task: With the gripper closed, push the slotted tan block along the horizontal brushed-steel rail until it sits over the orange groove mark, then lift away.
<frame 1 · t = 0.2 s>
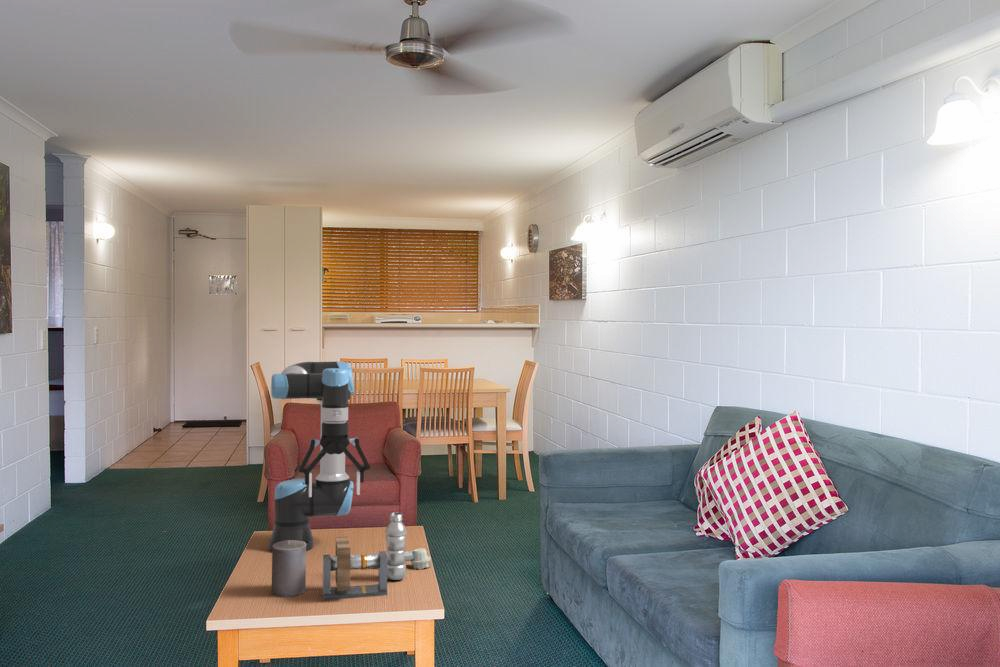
hand: (334, 495, 226), 28 cm above the table, fingers open, 13 cm apart
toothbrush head: (390, 568, 250), on the table
pillar candle: (288, 592, 227), on the table
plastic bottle: (395, 579, 239), on the table
rail stand: (354, 593, 226), on the table
slotted tan block: (342, 563, 225), point 9 cm above the table, slide at 0.0 cm
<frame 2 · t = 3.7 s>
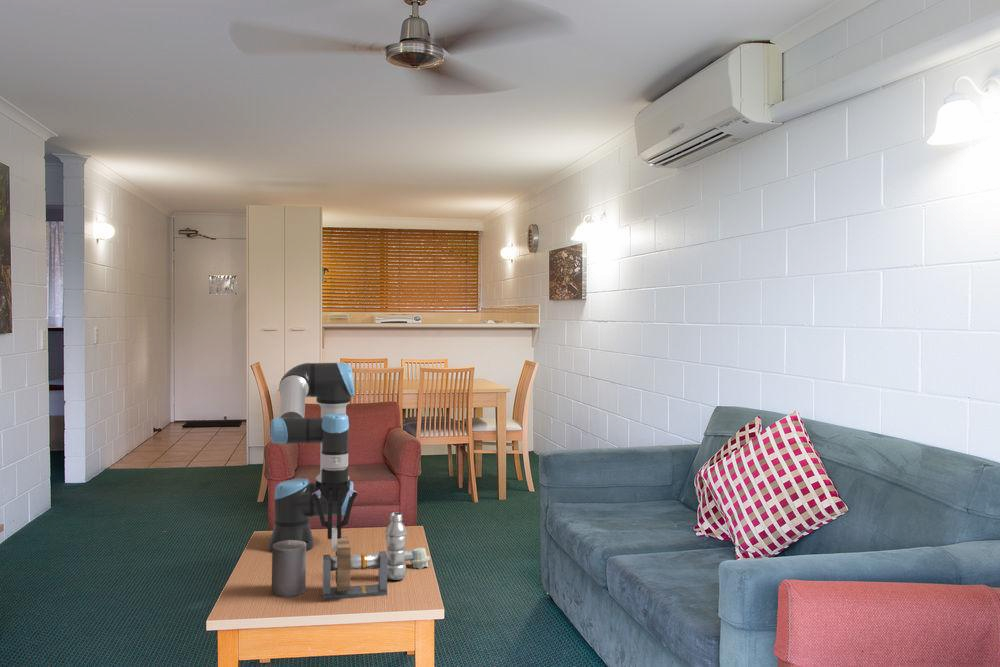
hand: (334, 549, 224), 13 cm above the table, fingers closed
slotted tan block: (342, 563, 225), point 9 cm above the table, slide at 0.0 cm, touching gripper
everything else where it was.
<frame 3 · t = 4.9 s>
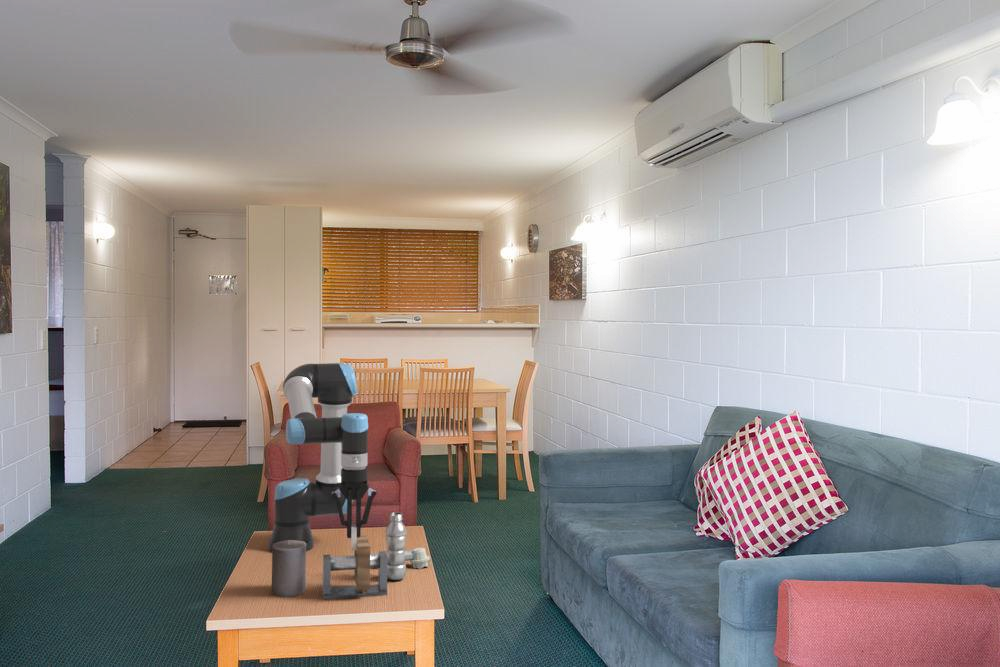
hand: (353, 548, 225), 13 cm above the table, fingers closed
slotted tan block: (362, 561, 226), point 9 cm above the table, slide at 5.5 cm, touching gripper
everything else where it was.
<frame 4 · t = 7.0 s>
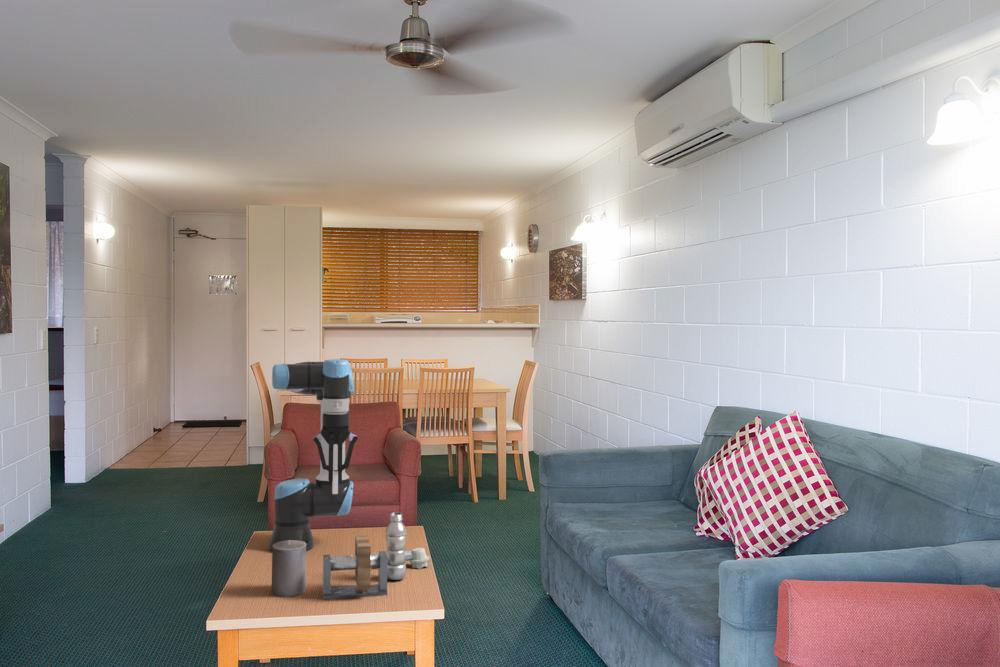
hand: (335, 492, 228), 29 cm above the table, fingers closed
slotted tan block: (362, 561, 226), point 9 cm above the table, slide at 5.7 cm
everything else where it was.
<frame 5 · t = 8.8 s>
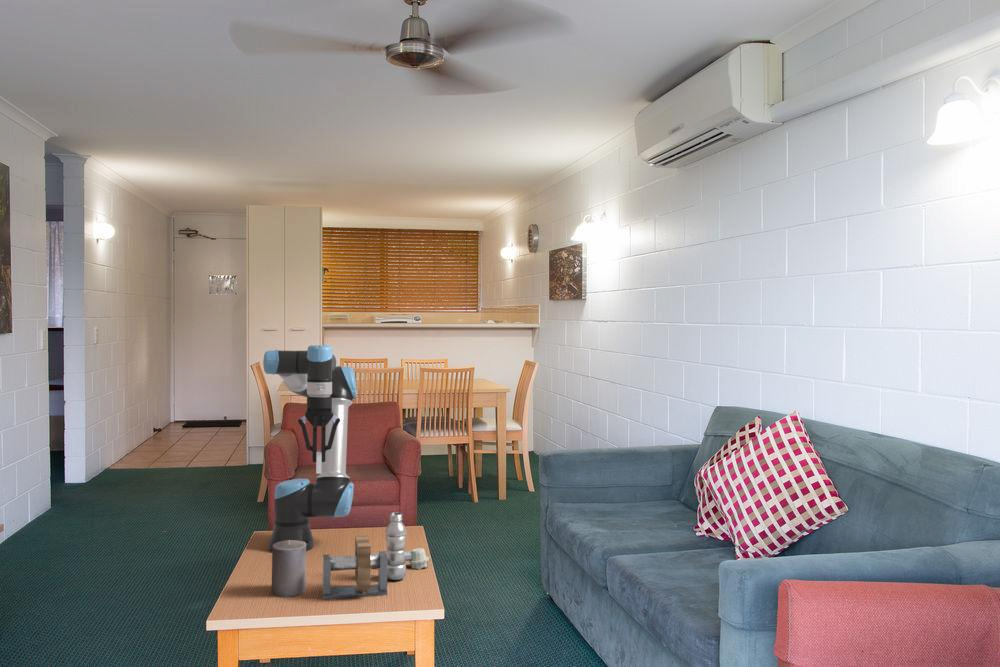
hand: (318, 472, 238), 32 cm above the table, fingers closed
nothing on the table moved.
at the end: slotted tan block slide at 5.7 cm; the gripper is holding nothing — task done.
